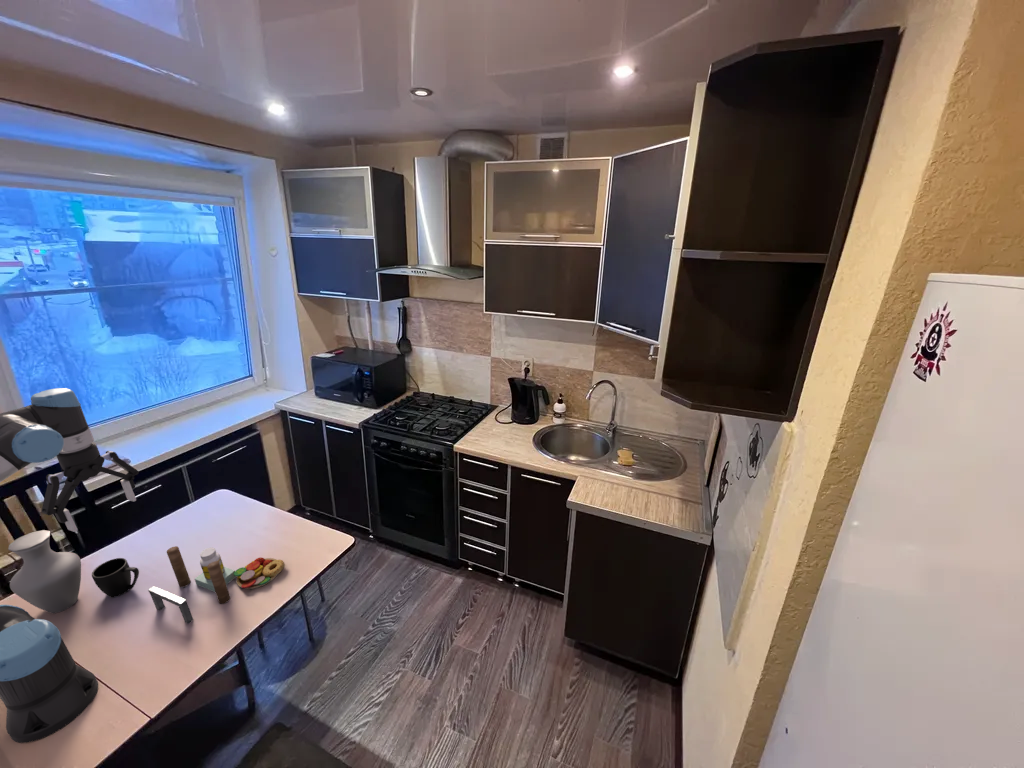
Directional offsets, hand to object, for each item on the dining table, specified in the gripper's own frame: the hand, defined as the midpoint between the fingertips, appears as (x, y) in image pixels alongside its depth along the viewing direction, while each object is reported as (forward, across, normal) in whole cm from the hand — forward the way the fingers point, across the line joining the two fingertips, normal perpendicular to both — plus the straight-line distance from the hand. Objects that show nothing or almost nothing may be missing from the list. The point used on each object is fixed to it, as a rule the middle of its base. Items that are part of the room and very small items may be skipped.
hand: (104, 514), depth 116 cm
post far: (+35, +10, -3) cm, 36 cm away
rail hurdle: (+35, +2, -12) cm, 37 cm away
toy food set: (+35, +22, -22) cm, 47 cm away
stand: (+35, +15, -11) cm, 39 cm away
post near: (+35, +11, -21) cm, 42 cm away
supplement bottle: (+32, +15, -12) cm, 37 cm away
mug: (+35, +2, +12) cm, 37 cm away
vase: (+35, -8, +24) cm, 43 cm away
